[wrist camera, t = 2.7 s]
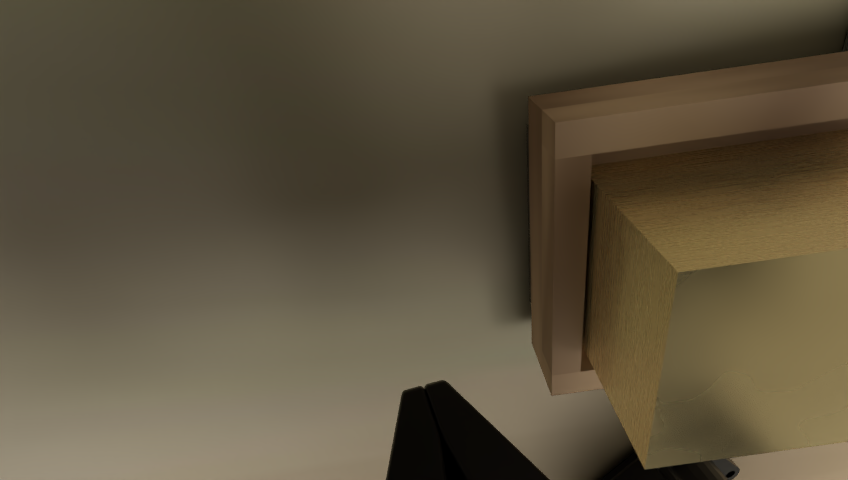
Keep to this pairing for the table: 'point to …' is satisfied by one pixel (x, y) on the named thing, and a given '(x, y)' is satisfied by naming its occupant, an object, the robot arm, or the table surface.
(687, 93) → the brown long shallow tray
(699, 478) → the robot arm
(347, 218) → the table surface
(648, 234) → the block
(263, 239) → the table surface
